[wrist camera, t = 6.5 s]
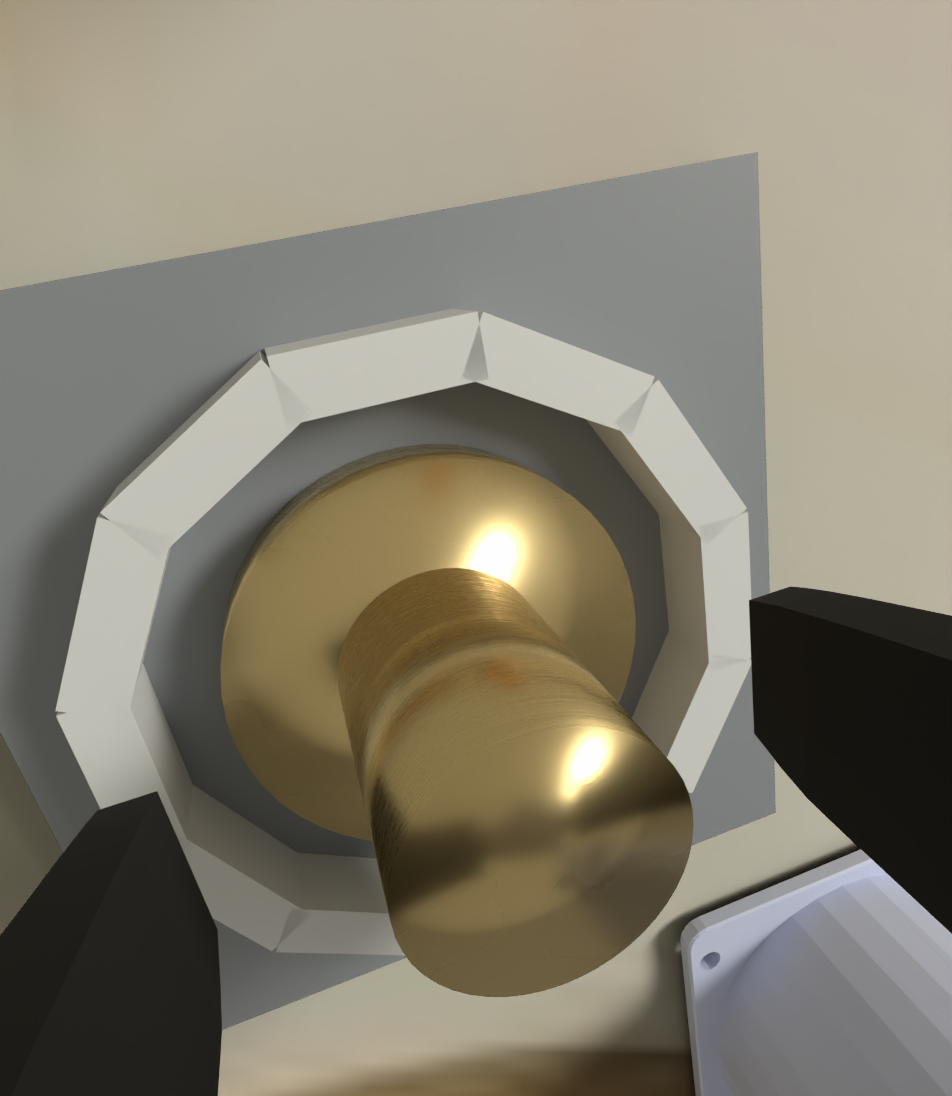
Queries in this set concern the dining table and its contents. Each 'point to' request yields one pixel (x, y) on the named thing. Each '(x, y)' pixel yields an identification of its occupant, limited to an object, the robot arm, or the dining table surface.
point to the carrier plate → (347, 435)
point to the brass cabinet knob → (460, 711)
